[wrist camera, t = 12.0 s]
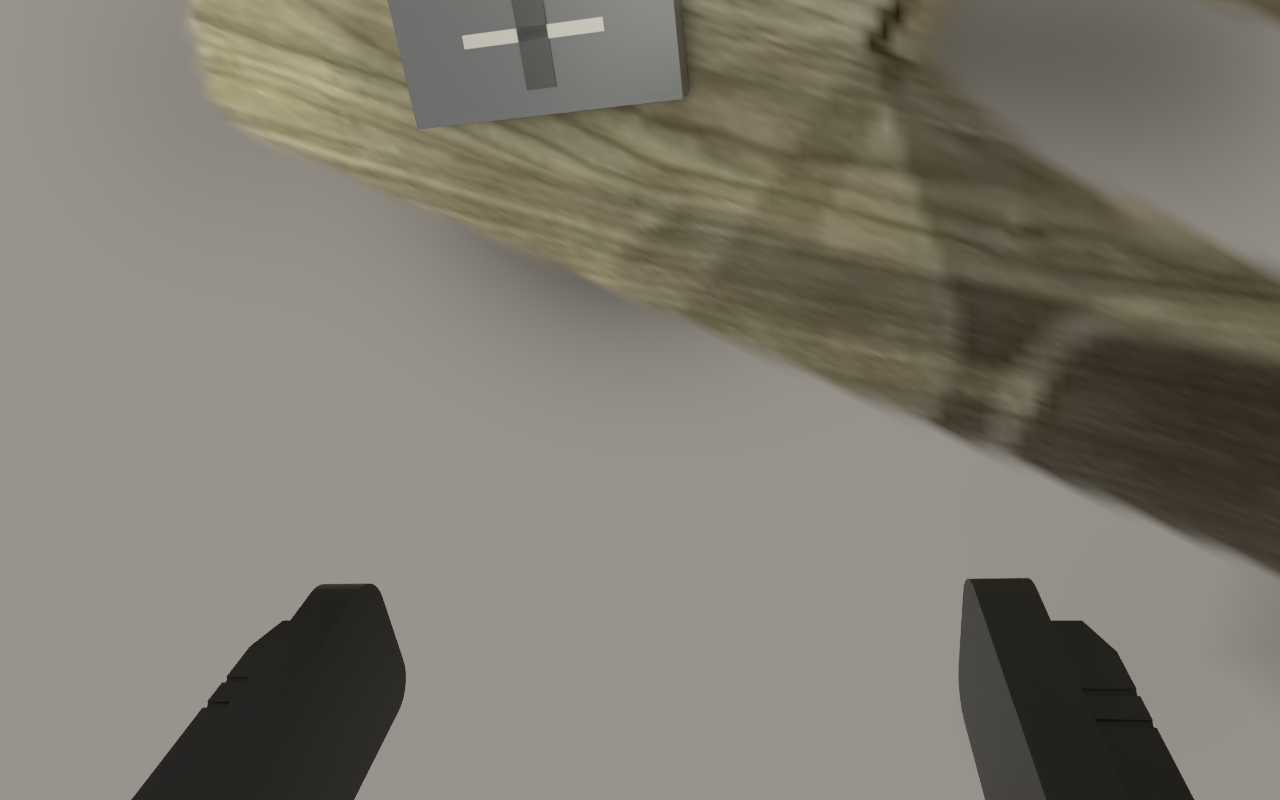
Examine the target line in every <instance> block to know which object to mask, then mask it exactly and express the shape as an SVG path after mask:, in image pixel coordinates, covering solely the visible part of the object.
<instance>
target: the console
mask: <svg viewBox="0 0 1280 800" xmlns="http://www.w3.org/2000/svg"><path fill="white" fill-rule="evenodd" d="M388 4H389V8H390V12H391V17H392V21H393V25H394V29H395V34H396V38H397V42H398V47H399V51H400V55H401V59H402V64H403V68H404V72H405V76H406V81H407V85H408V89H409V94H410V98H411V102H412V106H413V111H414V115H415V119H416V123H417V128H418V129H427V128H436V127H444V126H453V125H462V124H470V123H479V122H488V121H496V120H505V119H514V118H522V117H531V116H540V115H548V114H557V113H566V112H574V111H583V110H592V109H600V108H609V107H618V106H626V105H635V104H644V103H652V102H661V101H670V100H678V99H683V98H684V97H685V95H686V94H687V92H688V91H689V81H688V70H687V59H686V48H685V37H684V27H683V16H682V5H681V0H388Z"/></svg>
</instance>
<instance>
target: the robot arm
mask: <svg viewBox="0 0 1280 800" xmlns="http://www.w3.org/2000/svg"><path fill="white" fill-rule="evenodd" d="M405 684H406V672H405V665H404V661H403V658H402V655H401V652H400V649H399V646H398V643H397V640H396V637H395V634H394V631H393V628H392V625H391V622H390V619H389V616H388V613H387V610H386V607H385V604H384V601H383V598H382V595H381V593H380V591H379V590H378V588H377V587H376V586H375V585H373V584H323V585H320V586H317V587H316V588H315V589H314V590H313V591H312V592H311V593H310V595H309V596H308V597H307V599H306V600H305V602H304V603H303V604H302V606H301V607H300V608H299V610H298V611H297V612H296V614H295V615H294V616H293V618H292V619H291V620H290V621H282V622H281V623H280V624H278V625H277V626H276V627H274V628H273V629H272V630H271V631H269V632H268V633H267V634H265V635H264V636H263V637H262V638H260V639H259V640H258V641H256V642H255V643H254V644H253V645H251V646H250V647H249V649H248V650H247V651H246V652H245V654H244V655H243V656H242V658H241V659H240V660H239V661H238V663H237V664H236V665H235V667H234V668H233V669H232V670H231V672H230V673H229V674H228V676H227V681H226V683H221V685H220V686H219V687H218V689H217V690H216V691H215V692H214V694H213V695H212V696H211V698H210V699H209V700H208V706H207V708H202V709H201V711H200V712H199V713H198V714H197V716H196V717H195V718H194V720H193V721H192V722H191V723H190V725H189V726H188V727H187V729H186V730H185V731H184V733H183V734H182V735H181V736H180V738H179V739H178V741H177V742H176V743H175V744H174V745H173V747H172V748H171V749H170V751H169V752H168V753H167V755H166V756H165V757H164V758H163V760H162V761H161V762H160V764H159V765H158V766H157V768H156V769H155V770H154V771H153V773H152V774H151V775H150V777H149V778H148V779H147V780H146V782H145V783H144V784H143V786H142V787H141V788H140V789H139V791H138V792H137V793H136V795H135V796H134V797H133V799H132V800H354V799H355V797H356V795H357V793H358V791H359V789H360V787H361V785H362V782H363V781H364V779H365V777H366V775H367V773H368V771H369V769H370V767H371V765H372V763H373V761H374V759H375V757H376V755H377V753H378V751H379V749H380V747H381V745H382V743H383V741H384V739H385V737H386V735H387V733H388V731H389V729H390V727H391V725H392V723H393V721H394V719H395V717H396V715H397V713H398V711H399V709H400V707H401V704H402V701H403V697H404V692H405ZM959 690H960V700H961V706H962V712H963V717H964V721H965V725H966V729H967V733H968V736H969V740H970V744H971V748H972V752H973V755H974V759H975V763H976V767H977V770H978V774H979V778H980V782H981V785H982V789H983V793H984V796H985V800H1194V799H1193V797H1192V795H1191V793H1190V791H1189V789H1188V787H1187V785H1186V783H1185V781H1184V779H1183V778H1182V776H1181V774H1180V772H1179V770H1178V768H1177V766H1176V764H1175V762H1174V760H1173V758H1172V756H1171V754H1170V753H1169V751H1168V749H1167V747H1166V745H1165V743H1164V741H1163V739H1162V737H1161V735H1160V734H1159V731H1158V730H1157V728H1154V727H1153V723H1152V718H1151V716H1150V714H1149V712H1148V710H1147V708H1146V707H1145V705H1144V703H1143V701H1142V699H1141V697H1140V696H1137V693H1136V687H1135V685H1134V683H1133V682H1132V680H1131V678H1130V676H1129V674H1128V672H1127V670H1126V668H1125V666H1124V664H1123V662H1122V660H1121V659H1120V657H1119V655H1118V653H1117V652H1116V651H1115V650H1114V649H1113V648H1112V647H1111V646H1110V645H1109V644H1107V643H1106V642H1105V641H1104V640H1103V639H1102V638H1101V637H1100V636H1098V635H1097V634H1096V633H1095V632H1094V631H1093V630H1092V629H1091V628H1090V627H1089V626H1087V625H1086V624H1085V623H1084V622H1083V621H1051V620H1050V618H1049V616H1048V613H1047V611H1046V609H1045V607H1044V604H1043V602H1042V600H1041V597H1040V596H1039V593H1038V591H1037V588H1036V586H1035V585H1034V583H1033V582H1032V580H1030V579H1029V578H1013V579H1012V578H1011V579H1010V578H1009V579H1006V578H1005V579H967V580H966V581H965V584H964V591H963V605H962V622H961V638H960V654H959Z"/></svg>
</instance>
